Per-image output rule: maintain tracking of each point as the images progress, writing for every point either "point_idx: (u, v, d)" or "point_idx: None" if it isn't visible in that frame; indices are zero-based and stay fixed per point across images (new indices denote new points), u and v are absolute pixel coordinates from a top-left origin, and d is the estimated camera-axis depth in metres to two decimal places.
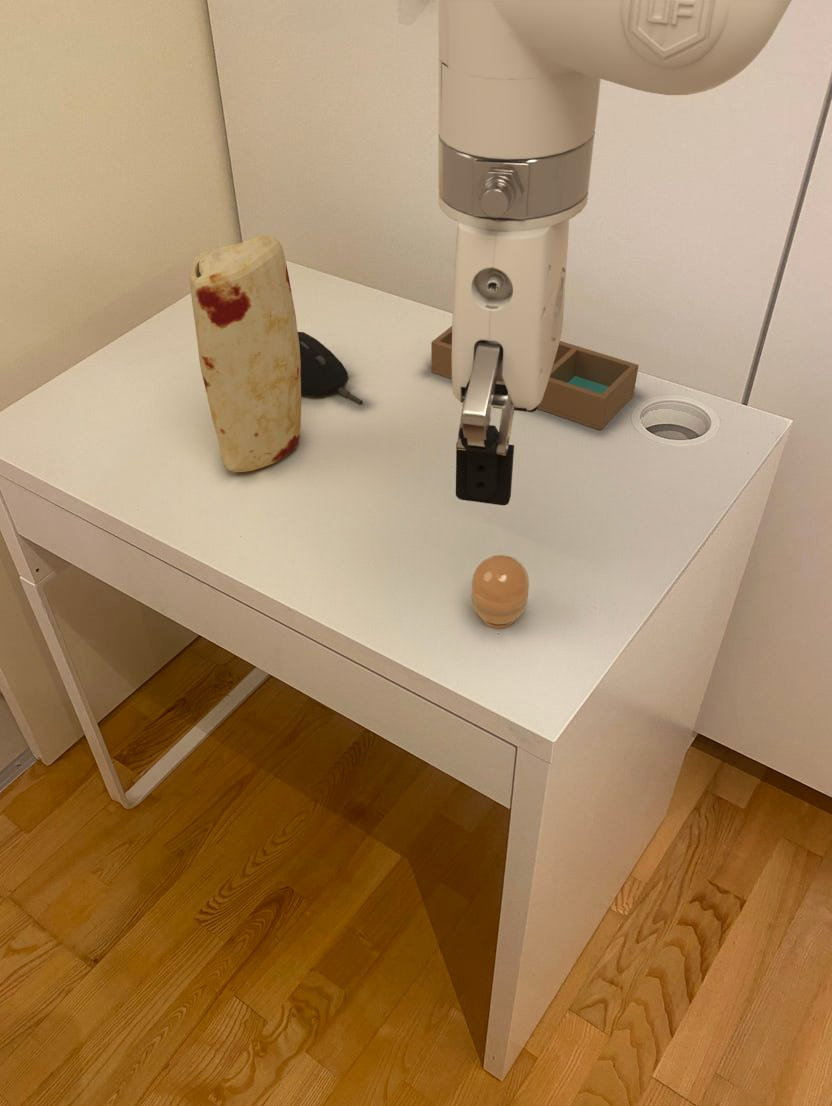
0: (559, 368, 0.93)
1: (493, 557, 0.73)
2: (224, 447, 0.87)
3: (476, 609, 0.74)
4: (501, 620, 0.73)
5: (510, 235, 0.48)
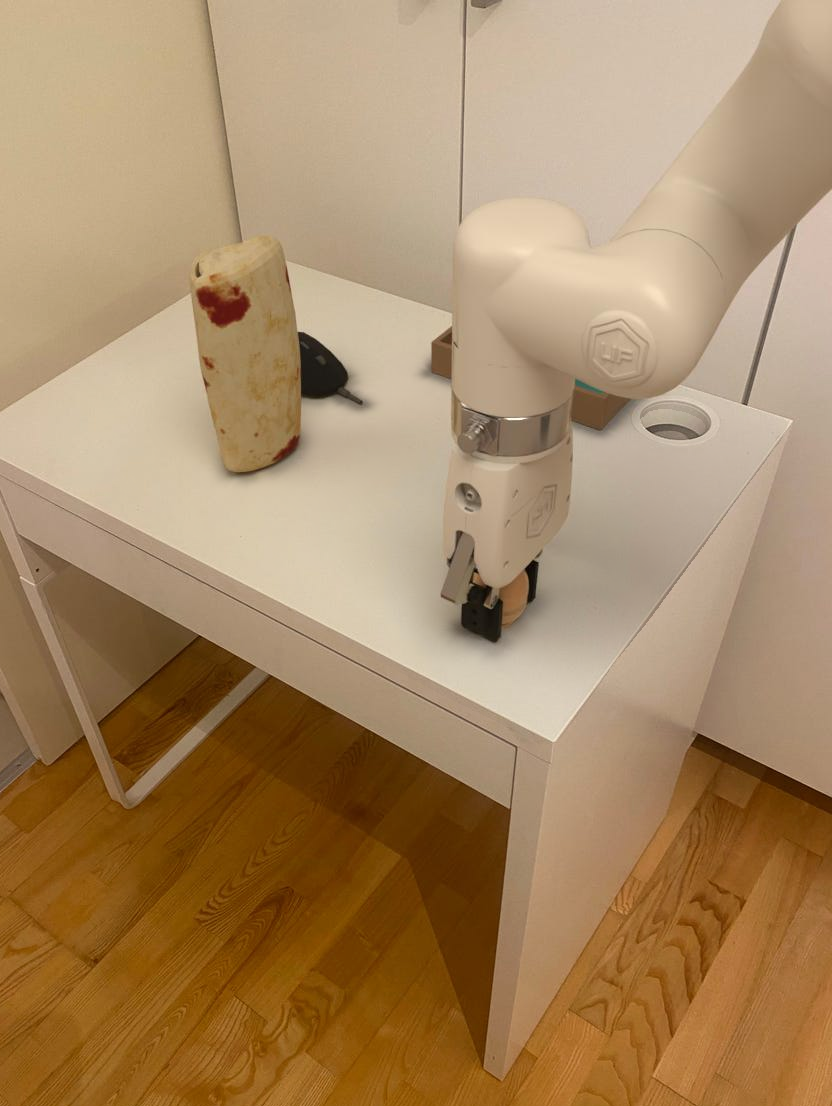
0: None
1: None
2: (224, 447, 0.87)
3: None
4: None
5: (483, 464, 0.61)
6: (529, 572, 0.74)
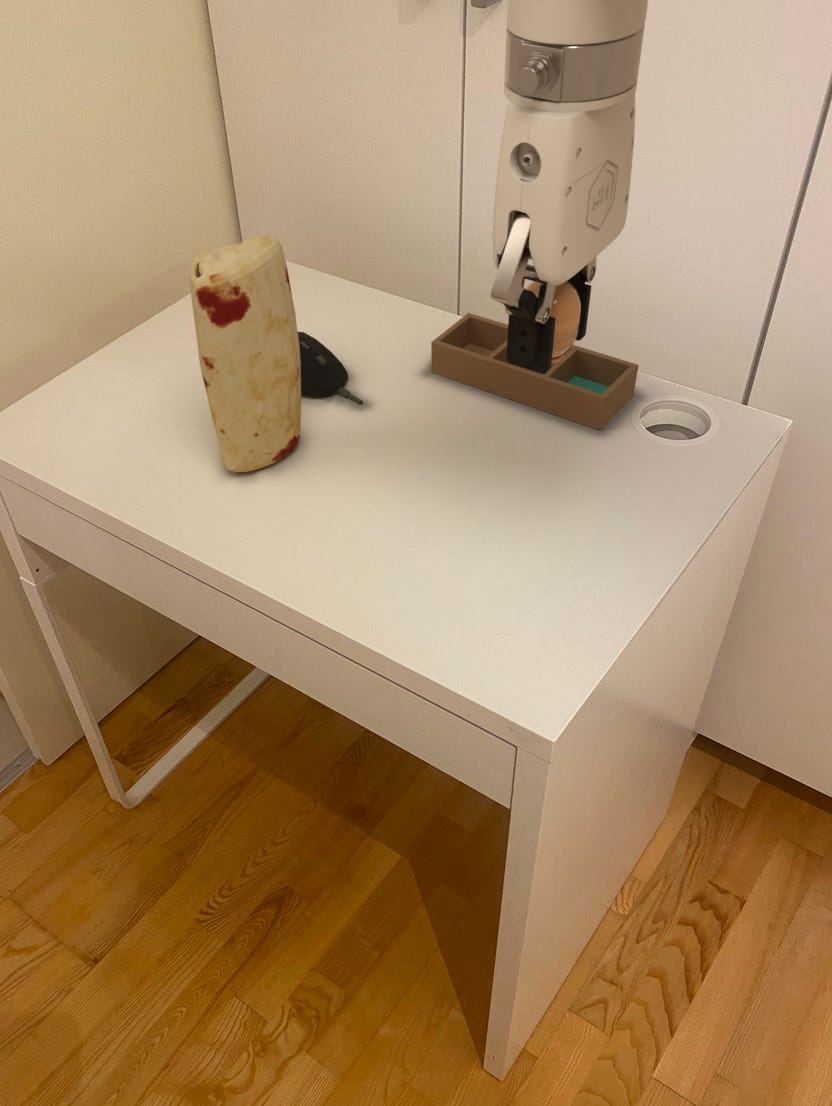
0: (559, 368, 0.93)
1: None
2: (224, 447, 0.87)
3: None
4: None
5: (544, 114, 0.55)
6: (581, 298, 0.68)
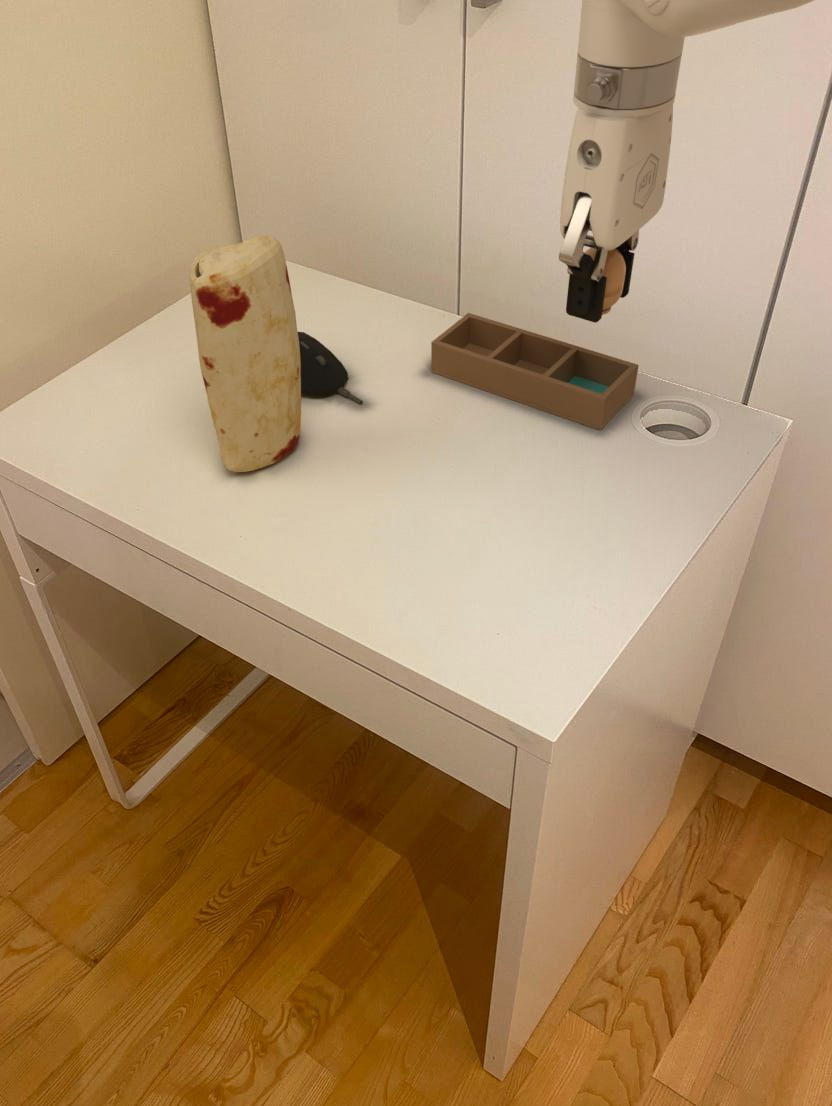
0: (559, 368, 0.93)
1: None
2: (224, 447, 0.87)
3: None
4: None
5: (605, 119, 0.73)
6: (626, 263, 0.86)
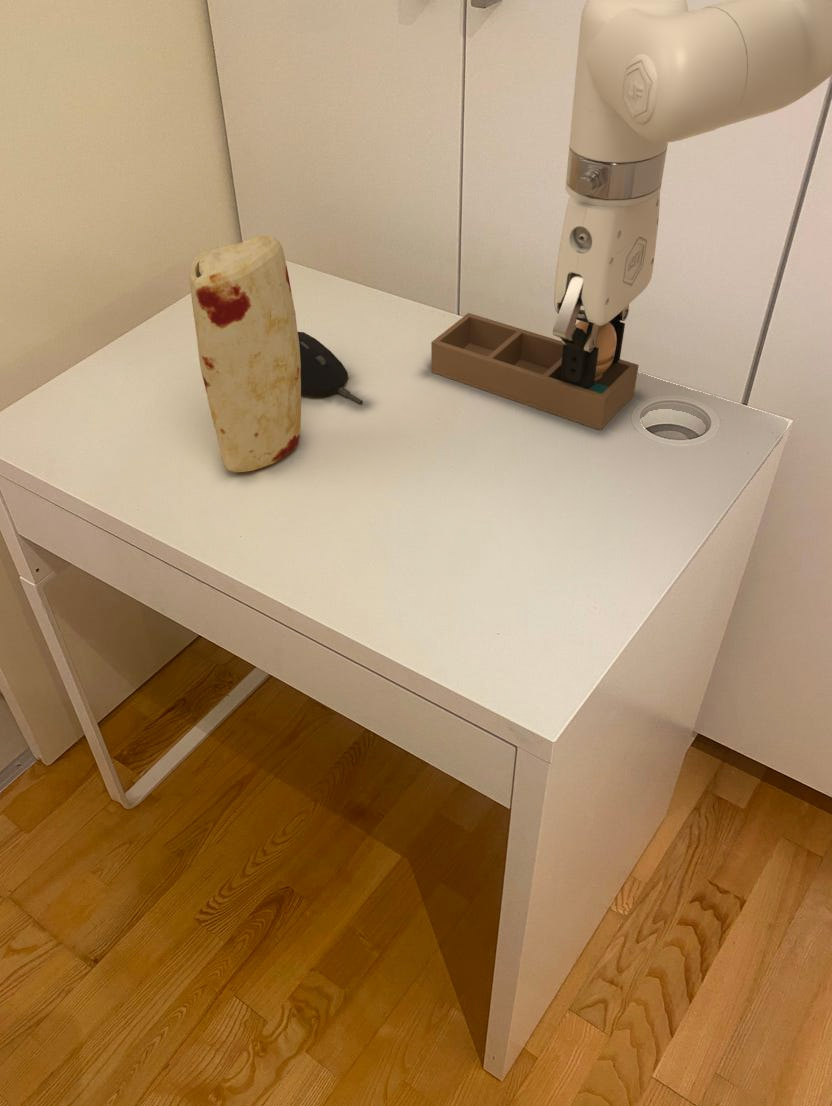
0: (559, 368, 0.93)
1: None
2: (224, 447, 0.87)
3: None
4: None
5: (595, 208, 0.77)
6: (617, 332, 0.90)
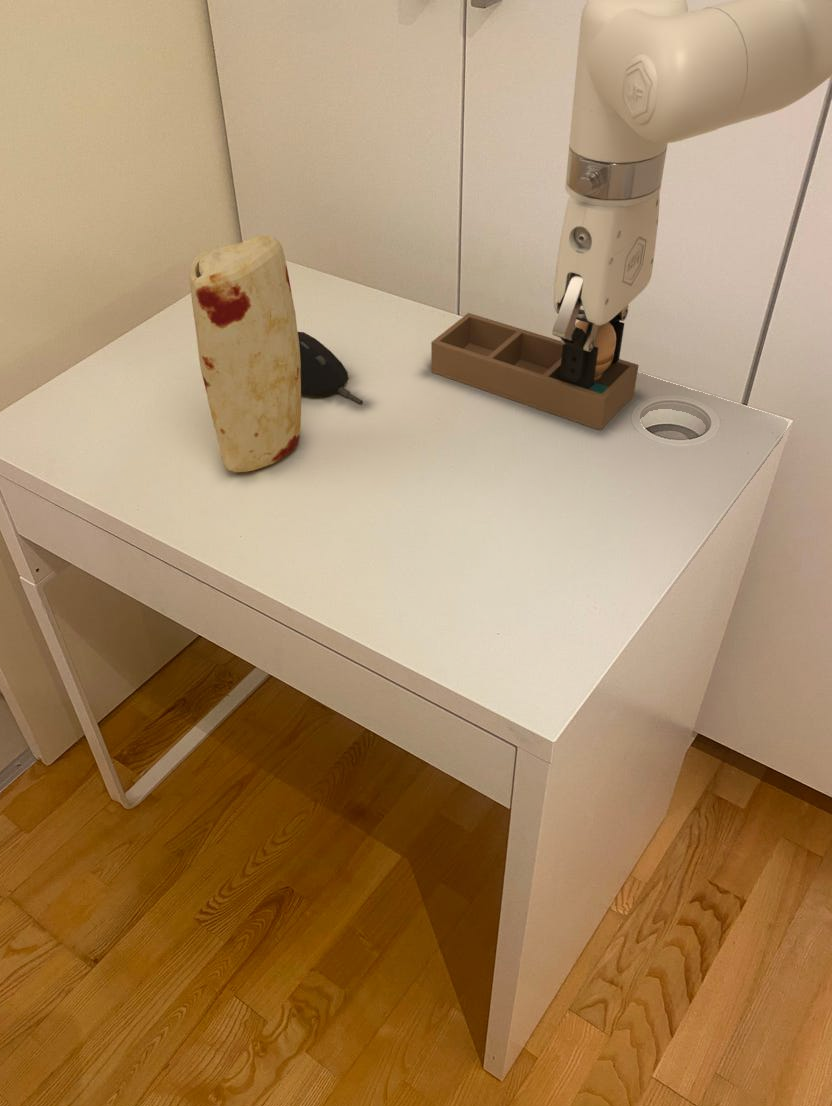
0: (559, 368, 0.93)
1: None
2: (224, 447, 0.87)
3: None
4: None
5: (595, 208, 0.78)
6: (616, 332, 0.90)
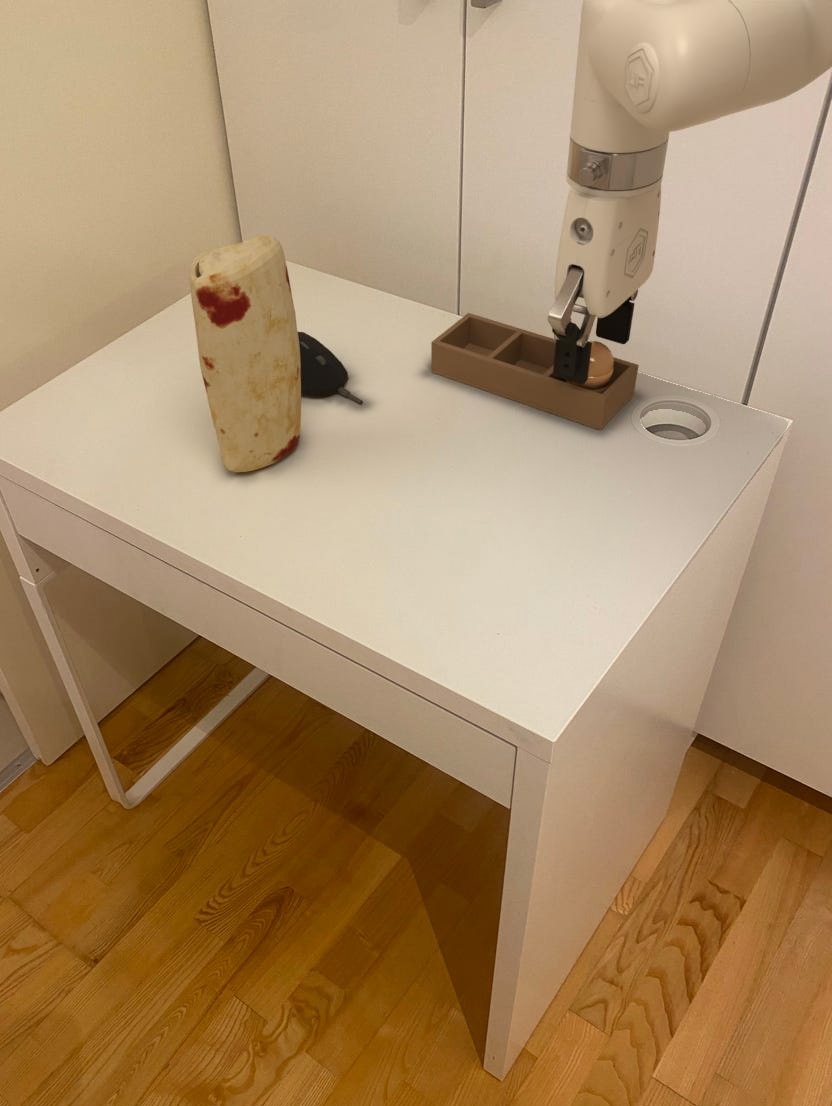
0: None
1: None
2: (224, 447, 0.87)
3: None
4: None
5: (596, 199, 0.77)
6: (626, 312, 0.90)
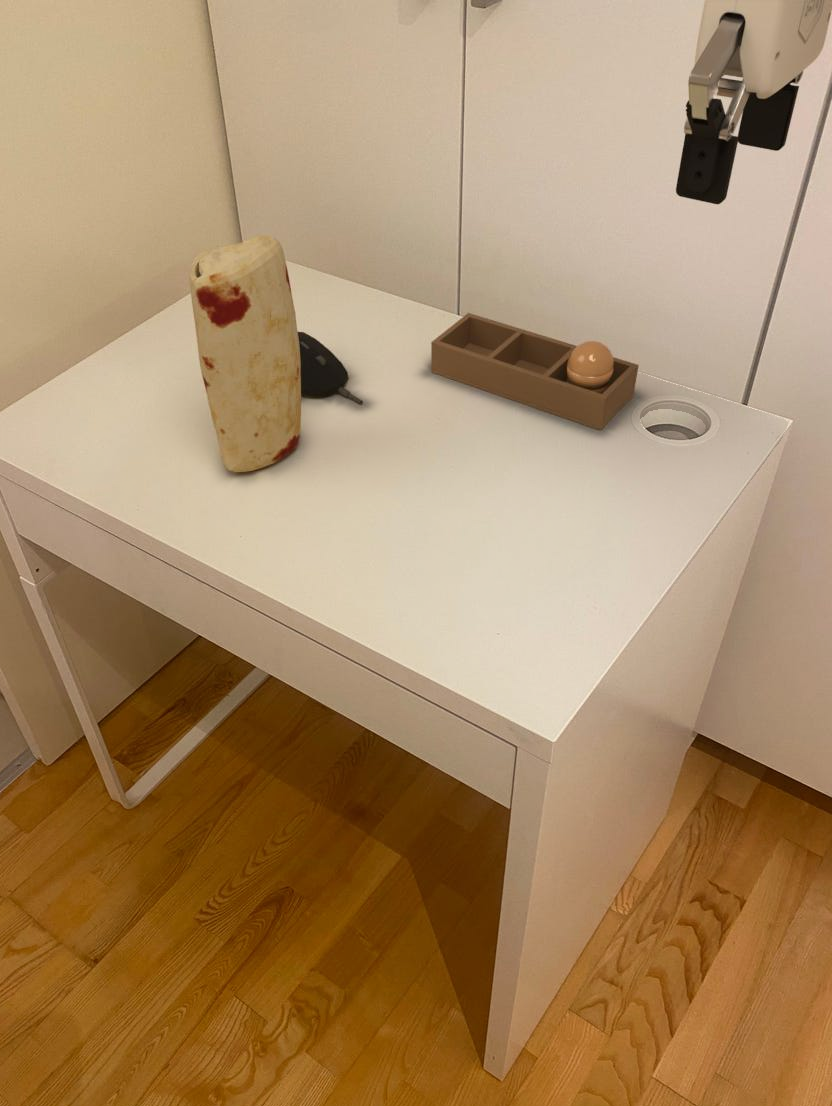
0: (559, 368, 0.93)
1: (585, 342, 0.91)
2: (224, 447, 0.87)
3: None
4: None
5: None
6: (787, 99, 0.66)
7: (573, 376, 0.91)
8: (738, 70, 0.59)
